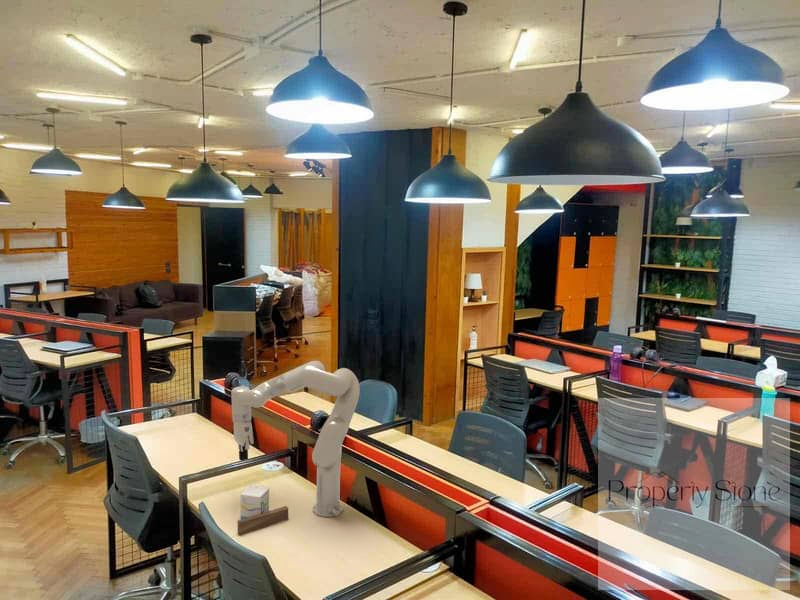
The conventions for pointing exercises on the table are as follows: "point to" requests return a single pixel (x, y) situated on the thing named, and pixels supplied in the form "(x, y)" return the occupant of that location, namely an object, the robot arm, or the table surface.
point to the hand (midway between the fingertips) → (243, 459)
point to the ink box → (254, 501)
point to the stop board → (262, 520)
